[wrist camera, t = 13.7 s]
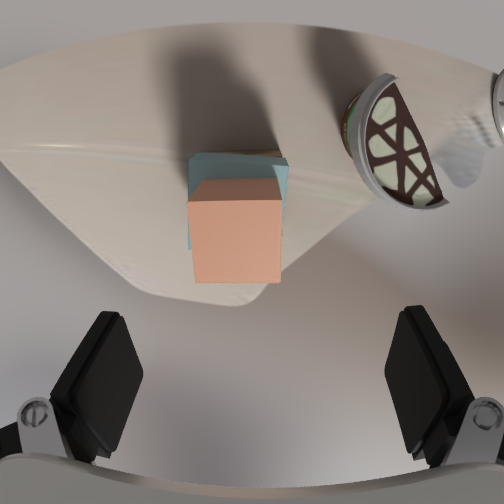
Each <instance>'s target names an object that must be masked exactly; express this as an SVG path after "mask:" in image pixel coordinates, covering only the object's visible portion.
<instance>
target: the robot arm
mask: <svg viewBox="0 0 504 504" xmlns="http://www.w3.org/2000/svg"><path fill="white" fill-rule="evenodd" d="M493 111H494V117H495V123H496V126H497V129H498V132H499V134H500V136H501V138H502V140H503V142H504V69H503V71H502V72H501V73H500V74H499V76H498V78H497V81H496V84H495V87H494V93H493ZM142 378H143V369H142V366H141V364H140V361H139V358H138V356H137V353H136V351H135V348H134V345H133V343H132V340H131V337H130V334H129V332H128V329H127V326H126V323H125V320H124V318H123V317H122V316H120V315H119V313H118V312H111V311H102V312H101V313H100V314H99V316H98V317H97V319H96V320H95V322H94V323H93V325H92V326H91V328H90V329H89V331H88V332H87V334H86V336H85V337H84V339H83V340H82V342H81V343H80V345H79V347H78V348H77V350H76V351H75V353H74V355H73V356H72V358H71V359H70V361H69V363H68V364H67V366H66V368H65V369H64V371H63V373H62V374H61V376H60V378H59V379H58V381H57V383H56V385H55V386H54V388H53V390H52V392H51V393H50V395H51V398H50V399H49V401H48V400H47V399H45V398H43V397H35V398H31V399H30V400H28V401H26V402H25V403H24V404H23V405H22V406H21V408H20V409H19V411H18V414H17V422H14V423H12V424H10V425H8V426H5V427H3V428H1V429H0V504H504V407H503V406H502V405H501V404H500V403H499V402H498V401H497V400H495V399H493V398H490V397H480V398H477V399H475V398H474V396H473V393H472V391H471V390H470V388H469V385H468V383H467V381H466V379H465V377H464V375H463V374H462V371H461V370H460V368H459V366H458V364H457V362H456V360H455V358H454V356H453V355H452V353H451V351H450V349H449V347H448V345H447V344H446V343H445V342H444V341H443V340H442V338H441V336H440V334H439V332H438V331H437V329H436V327H435V326H434V324H433V322H432V320H431V319H430V317H429V315H428V314H427V312H426V310H425V308H424V307H423V306H422V305H416V306H407V307H405V309H404V311H401V312H400V313H399V317H398V321H397V325H396V329H395V333H394V337H393V340H392V344H391V347H390V351H389V354H388V358H387V361H386V365H385V378H386V381H387V384H388V387H389V390H390V393H391V397H392V400H393V403H394V407H395V410H396V414H397V417H398V420H399V424H400V428H401V431H402V435H403V439H404V442H405V446H406V450H407V452H408V453H412V456H413V459H414V461H415V460H419V459H423V458H425V459H426V462H427V464H428V466H427V468H426V469H425V470H421V471H417V472H412V473H407V474H403V475H397V476H392V477H386V478H380V479H373V480H367V481H360V482H353V483H345V484H335V485H324V486H311V487H292V488H291V487H289V488H246V487H226V486H212V485H201V484H192V483H183V482H175V481H169V480H162V479H156V478H151V477H145V476H140V475H135V474H130V473H125V472H121V471H116V470H112V469H108V468H103V467H99V466H96V463H95V461H94V460H95V457H96V455H97V456H102V457H105V458H110V456H111V453H112V452H114V451H115V450H116V449H117V446H118V444H119V441H120V438H121V435H122V432H123V429H124V427H125V424H126V421H127V418H128V416H129V413H130V410H131V408H132V405H133V402H134V400H135V397H136V394H137V392H138V389H139V386H140V384H141V381H142Z"/></svg>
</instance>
